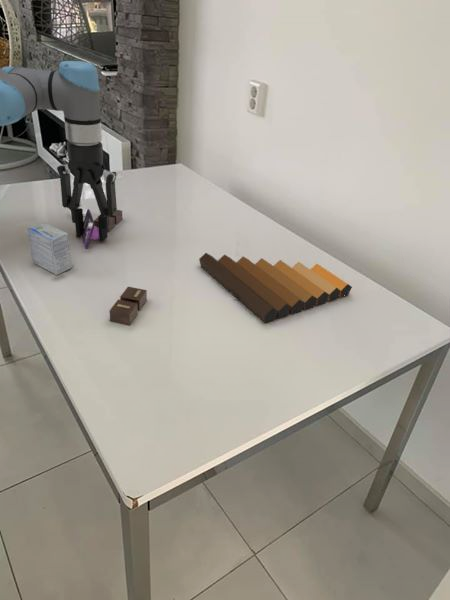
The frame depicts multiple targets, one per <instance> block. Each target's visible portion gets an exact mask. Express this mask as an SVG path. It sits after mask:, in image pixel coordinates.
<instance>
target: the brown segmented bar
mask: <svg viewBox="0 0 450 600" xmlns="http://www.w3.org/2000/svg"><path fill="white" fill-rule="evenodd" d="M147 291H148V290H147V289H144V288H143V289H142V288H137V287H133V286H127V287H126V288H125V290H124V291H123V292H122V293H121V295H119V298H120V299H117V300H116V301H115V303H114V304H113V305H112V307H111V308H110V309H109V321H110V322H112V323H117V324H122V325H126V326H131V324H132V322H133V321H134V320H135V319H136V317H137V315H138V314H139V313H138V312H139V311H141V310H142V308H143V306H144V305H145V304H146V302H147V301H148V299H147V298H148V297H147V296H148V295H147V293H148V292H147Z"/></svg>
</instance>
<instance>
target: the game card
mask: <svg viewBox="0 0 450 600" xmlns="http://www.w3.org/2000/svg"><path fill="white" fill-rule="evenodd" d="M94 220H95V219H94V218H93V214H92V212H91V209H90V208H87V213H86V216H84V218H83V221H84V233H83V235H82V236H81V239H82V242H83V246H84V248H85V249H86V250H87V249H88V248H89V245H90V242H91V240H93V241H95V240H100V239H99V228H98V227H96V226H95V223H94Z"/></svg>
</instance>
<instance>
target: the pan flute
mask: <svg viewBox="0 0 450 600" xmlns="http://www.w3.org/2000/svg"><path fill="white" fill-rule="evenodd" d="M198 261H199V264H200V267H201V268H202V269H204V270H205V271H206V273H208V274H209V275H210V276H211V277H212V278H213V279H215V281H217V282H218V283H219V284H220V285H221V286H222V287H223V288H225V289H226V290H227V292H229V293H230V294H232V295H233V297H235V298H236V299H237V300H238V301H239V302H240V303H242V304H243V305H244V306H245V307H246V308H247V309H248V310H249V311H250V312H252V313H253V314H254V315H255V317H257V318H259V319H260V321H262V322H263V323H264V324H269V323H272V322H274V321H275V320H276V318H277V319H279V320H280V319H283V318H287V317H288V315H289V314H291V315H295V314H298V313H301V312H302V309H303V310H305V311H306V310H309V309H312V308H314V306H315V305H316V306H322V305H324V304H326V302H329V303H330V302H333V301H336V300H337V299H338V298H340V299H342V298H346V297H348V296H349V294H350V292H351V290H352V288H353V286H351V285H350V284H349V283H347V282H346V281H344V280H343V279H341V278H340V277H339V276H337V275H336V274H334V273H332V272H331V271H330V270H328V269H327V268H325V267H323V266H322V265H320V264H319V263H316V264H314V265H313V266H312V268H309V267H307V266H305V264H303V263H301V262H300V261H297V262H296V263H295V264H294V265H293V266H290V265H288V264H287V263H285V262H284V261H283V260H281V259H279V260H278V261H277V262H275V264H274V265H273V264H271V263H270V262H268V261H267V260H265V259H264V258H262V257H261V258H260V259H259V260H257V262H255V263H254V262H252V261H251V260H250V259H249V258H247V257H245V256H241V257H240V259H238V260H237V261H235V260H234V259H232V258H231V257H230V256H228V255H226V254H223V255H222V256H221V257H220V258H219V259H217V258H215V257H214V256H212V255H211V254H209V253H208V252H205V253H203V255H201V257H199V259H198ZM347 294H348V295H347ZM344 295H345V296H344Z"/></svg>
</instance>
